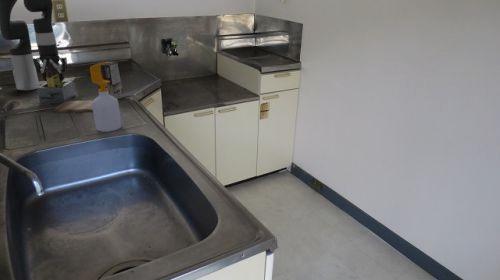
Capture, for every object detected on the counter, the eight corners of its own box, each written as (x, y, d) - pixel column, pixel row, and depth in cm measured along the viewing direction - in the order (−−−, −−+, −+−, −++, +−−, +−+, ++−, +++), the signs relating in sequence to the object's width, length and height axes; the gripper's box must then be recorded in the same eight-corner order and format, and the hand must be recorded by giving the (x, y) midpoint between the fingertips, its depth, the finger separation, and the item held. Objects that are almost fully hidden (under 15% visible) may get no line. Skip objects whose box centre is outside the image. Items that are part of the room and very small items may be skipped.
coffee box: (124, 96, 180) (120, 62, 173) (114, 100, 174) (109, 65, 168) (109, 94, 183) (104, 60, 177) (99, 98, 178) (94, 63, 171)
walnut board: (54, 111, 160) (54, 109, 159) (66, 102, 171) (65, 100, 170) (93, 111, 160) (93, 109, 160) (102, 102, 171) (102, 100, 171)
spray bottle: (107, 134, 138) (96, 66, 128) (91, 129, 142) (79, 63, 132) (126, 126, 145) (118, 61, 135) (110, 121, 149) (101, 58, 139)
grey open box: (36, 105, 167) (32, 90, 164) (51, 95, 181) (48, 81, 178) (61, 105, 167) (58, 90, 165) (75, 95, 182) (72, 80, 179)
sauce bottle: (59, 101, 172) (50, 57, 165) (47, 100, 174) (37, 56, 166) (68, 97, 178) (60, 54, 170) (56, 96, 179) (48, 54, 172)
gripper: (66, 41, 170) (73, 78, 176) (33, 41, 169) (41, 78, 176) (59, 44, 163) (67, 82, 169) (25, 44, 162) (34, 83, 169)
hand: (54, 80), depth 172 cm, fingers closed on sauce bottle, 6 cm apart
